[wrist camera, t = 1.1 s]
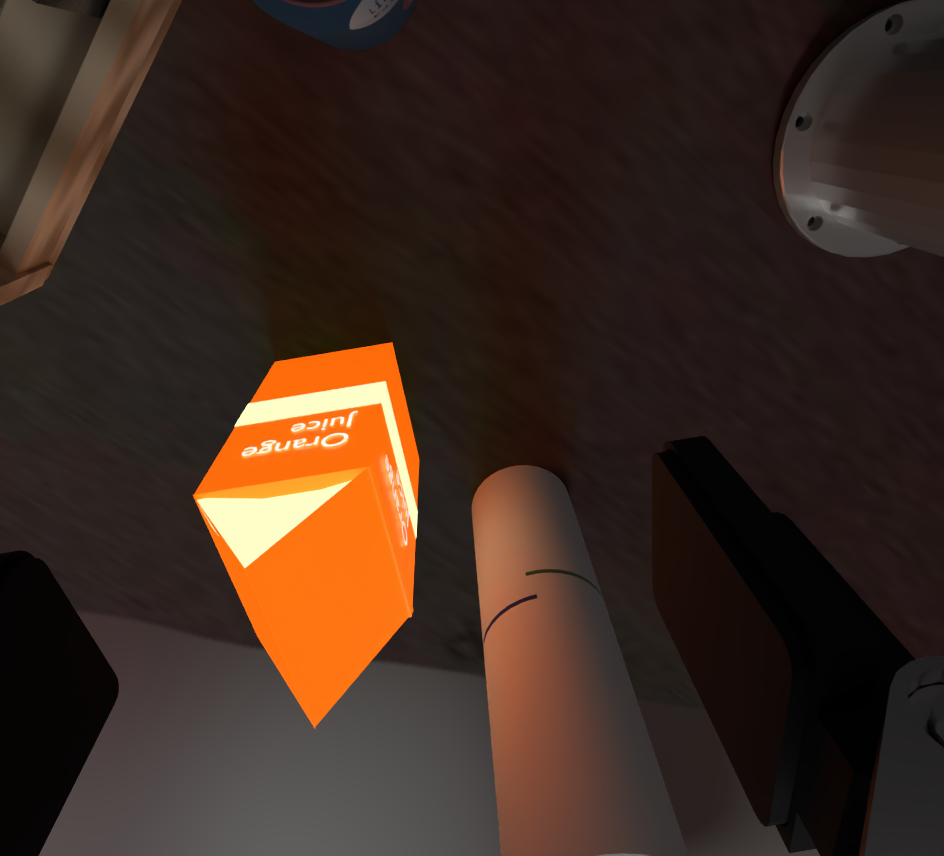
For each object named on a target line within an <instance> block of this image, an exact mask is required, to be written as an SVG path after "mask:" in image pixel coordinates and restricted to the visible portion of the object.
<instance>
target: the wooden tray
mask: <svg viewBox="0 0 944 856" xmlns="http://www.w3.org/2000/svg"><path fill="white" fill-rule="evenodd" d="M181 2H182V0H110V2H109V5H108V7H107V9H106V12H105V14H104V16H103V18H102V19H101V18H97V17H93V16H89V15H84V14H80V13H76V12H72V11H67V10H63V9H59V8H55V7H50V6H46V5H42V4H37V3H35V2H34V1H32V0H7V1H6V4H5V6H4V9H3V11H2V14H1V17H0V306H1V305H3V304H5V303H7V302H9V301H11V300H13V299H15V298H18V297H20V296H22V295H24V294H26V293H28V292H30V291H32V290H34V289H36V288H38V287H41V286H43V283H44V281H45V279H47V278H48V277H49V275H50V273H51V271H52V269H53V267H54V265H55V263H56V260H57V258H58V256H59V254H60V252H61V250H62V248H63V246H64V244H65V242H66V240H67V238H68V236H69V234H70V232H71V229H72V227H73V225H74V223H75V221H76V219H77V217H78V215H79V213H80V211H81V209H82V207H83V205H84V203H85V200H86V198H87V196H88V194H89V192H90V190H91V188H92V186H93V184H94V182H95V180H96V178H97V176H98V174H99V172H100V169H101V167H102V165H103V163H104V161H105V159H106V157H107V155H108V153H109V151H110V149H111V147H112V145H113V143H114V141H115V138H116V136H117V134H118V132H119V130H120V128H121V126H122V124H123V122H124V120H125V118H126V116H127V114H128V112H129V109H130V107H131V105H132V103H133V101H134V99H135V97H136V95H137V93H138V91H139V89H140V87H141V85H142V83H143V81H144V78H145V76H146V74H147V72H148V70H149V68H150V66H151V64H152V62H153V60H154V58H155V56H156V54H157V52H158V49H159V47H160V45H161V43H162V41H163V39H164V37H165V35H166V33H167V31H168V29H169V27H170V25H171V23H172V21H173V18H174V16H175V14H176V12H177V10H178V8H179V6H180V4H181Z"/></svg>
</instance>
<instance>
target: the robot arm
mask: <svg viewBox="0 0 944 856" xmlns="http://www.w3.org/2000/svg"><path fill="white" fill-rule="evenodd" d="M886 24H887V25H886ZM885 25H886V29H885ZM798 117H799V123H798V125H797V126H795V125H796V120H797V118H798ZM773 177H774V187H775V191H776V195H777V199H778V203H779V205H780V207H781V209H782V211H783V213H784V215H785V217H786V219H787V221H788V222H789V224H790V225H791V226H792V227H793V228H794V229H795V231H796V232H797V233H798V234H799V235H800V236H801V237H803V238H804V239H806V240H807V241H808V242H810V243H811V244H813V245H815V246H817V247H819V248H822V249H824V250H826V251H828V252H832V253H836V254H839V255H843V256H847V257H872V256H879V255H886V254H889V253H893V252H896V251H899V250H902V249H905V248H908V247H910V246H911V247H914V248H917V249H920V250H924V251H927V252H930V253H933V254H936V255H940V256H943V257H944V0H908V1H903V2H899V3H896V4H894V5H891V6H888V7H886V8H883V9H880V10H878V11H875V12H874V13H872V14H870V15H869V16H867V17H865V18H863V19H862V20H860V21H858V22H857V23H855V24H853V25H852V26H850V27H849V28H848V29H847V30H846V31H844V32H843V33H842V34H841V35H840V36H838V37H837V38H836V39H835V40H834V41H832V42H831V43H830V44H829V45H828V46H827V47H826V49H825V50H824V51H823V52H822V53H821V54H820V55H819V56H818V57H817V59H816V60H815V61H814V62H813V63H812V64H811V65H810V67H809V68H808V70H807V71H806V73H805V74H804V76H803V77H802V79H801V80H800V82H799V83H798V85H797V86H796V88H795V90H794V92H793V94H792V96H791V98H790V100H789V103H788V105H787V107H786V109H785V111H784V113H783V116H782V120H781V123H780V126H779V130H778V133H777V136H776V142H775V149H774V157H773ZM809 219H810V222H809V223H808V221H809ZM652 564H653V592H654V597H655V601H656V604H657V607H658V610H659V612H660V614H661V616H662V618H663V620H664V622H665V625H666V627H667V629H668V631H669V633H670V635H671V637H672V639H673V641H674V644H675V646H676V648H677V650H678V652H679V654H680V656H681V658H682V660H683V662H684V665H685V667H686V669H687V671H688V673H689V675H690V677H691V679H692V681H693V684H694V686H695V688H696V690H697V692H698V694H699V696H700V698H701V700H702V703H703V705H704V707H705V709H706V711H707V713H708V715H709V717H710V719H711V721H712V724H713V726H714V728H715V730H716V732H717V734H718V736H719V738H720V740H721V742H722V745H723V747H724V749H725V751H726V753H727V755H728V757H729V759H730V761H731V764H732V766H733V768H734V770H735V772H736V774H737V776H738V778H739V780H740V783H741V785H742V787H743V789H744V791H745V793H746V795H747V797H748V799H749V802H750V804H751V806H752V808H753V810H754V812H755V814H756V816H757V818H758V819H759V820H760V822H761V823H762V824H763V825H764V826H772V825H776V827H777V829H778V831H779V833H780V835H781V837H782V839H783V841H784V843H785V845H786V847H787V849H788V851H789V853H793V852H799V851H805V850H811V849H817V850H818V852H819V854H820V856H944V656H929V657H925V658H921V659H917V660H915V658H914V657H913V656H912V655H911V654H910V653H909V652H908V651H907V649H906V648H905V647H904V646H903V645H902V644H901V643H900V642H899V640H898V639H897V638H896V637H895V636H894V635H893V634H892V633H891V631H890V630H889V629H888V628H887V627H886V626H885V625H884V624H883V623H882V621H881V620H880V619H879V618H878V617H877V616H876V615H875V614H874V612H873V611H872V610H871V609H870V608H869V607H868V606H867V605H866V603H865V602H864V601H863V600H862V599H861V598H860V597H859V596H858V595H857V593H856V592H855V591H854V590H853V589H852V588H851V587H850V586H849V584H848V583H847V582H846V581H845V580H844V579H843V578H842V577H841V575H840V574H839V573H838V572H837V571H836V570H835V569H834V568H833V566H832V565H831V564H830V563H829V562H828V561H827V560H826V559H825V558H824V556H823V555H822V554H821V553H820V552H819V551H818V550H817V549H816V547H815V546H814V545H813V544H812V543H811V542H810V541H809V540H808V538H807V537H806V536H805V535H804V534H803V533H802V532H801V531H800V530H799V528H798V527H797V526H796V525H795V524H794V523H793V522H792V521H791V520H790V519H789V518H788V517H787V516H785V515H784V514H781V513H778V512H775V513H772V512H771V511H770V510H769V509H768V508H767V507H766V505H765V504H764V503H763V502H762V501H761V500H760V498H759V497H758V496H757V495H756V494H755V493H754V491H753V490H752V489H751V488H750V487H749V486H748V484H747V483H746V482H745V481H744V480H743V479H742V477H741V476H740V475H739V474H738V473H737V472H736V471H735V469H734V468H733V467H732V466H731V465H730V464H729V462H728V461H727V460H726V459H725V458H724V457H723V455H722V454H721V453H720V452H719V451H718V450H717V448H716V447H715V446H714V445H713V444H712V443H711V442H710V440H709V439H708V438H706V437H705V436H699V437H693V438H687V439H681V440H675V441H669V442H666V443H665V444H664V447H663V452H661V453H655V454H654V455H653V458H652ZM118 691H119V684H118V679H117V677H116V674H115V673H114V671H113V669H112V668H111V666H110V665H109V663H108V662H107V660H106V658H105V657H104V655H103V654H102V652H101V650H100V649H99V647H98V646H97V644H96V643H95V641H94V639H93V638H92V636H91V635H90V633H89V631H88V630H87V628H86V627H85V625H84V623H83V622H82V620H81V619H80V617H79V616H78V614H77V612H76V611H75V609H74V608H73V606H72V604H71V603H70V601H69V600H68V598H67V597H66V595H65V593H64V592H63V590H62V589H61V587H60V585H59V584H58V582H57V581H56V579H55V578H54V576H53V574H52V573H51V571H50V570H49V568H48V566H47V565H46V564H45V563H44V561H42V560H40V559H39V558H34V556H33V555H32V554H30V553H28V552H26V551H14V552H8V553H3V554H0V856H38V855H39V854H40V851H41V850H42V848H43V846H44V844H45V841H46V840H47V838H48V836H49V834H50V832H51V829H52V828H53V826H54V824H55V822H56V820H57V818H58V816H59V814H60V812H61V810H62V808H63V806H64V804H65V802H66V799H67V798H68V796H69V794H70V792H71V790H72V788H73V786H74V784H75V782H76V780H77V778H78V776H79V774H80V772H81V770H82V768H83V766H84V764H85V762H86V760H87V758H88V756H89V754H90V752H91V750H92V748H93V746H94V744H95V742H96V740H97V738H98V736H99V734H100V732H101V730H102V728H103V726H104V723H105V722H106V720H107V718H108V716H109V714H110V712H111V710H112V708H113V706H114V704H115V702H116V699H117V697H118Z"/></svg>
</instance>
